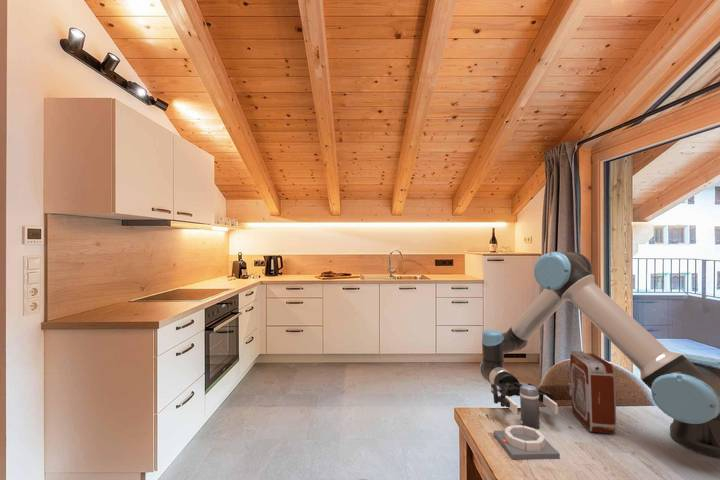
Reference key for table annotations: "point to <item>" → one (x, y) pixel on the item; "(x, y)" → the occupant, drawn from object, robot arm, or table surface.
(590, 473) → the table surface
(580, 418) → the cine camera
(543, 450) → the mount plate
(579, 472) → the table surface
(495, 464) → the table surface
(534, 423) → the lens
